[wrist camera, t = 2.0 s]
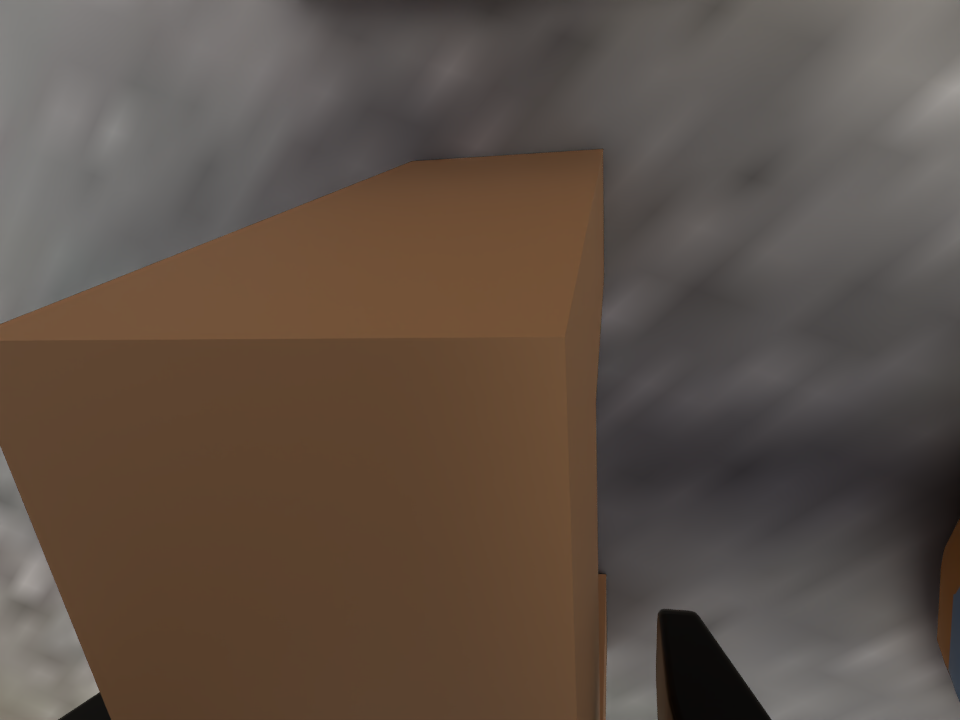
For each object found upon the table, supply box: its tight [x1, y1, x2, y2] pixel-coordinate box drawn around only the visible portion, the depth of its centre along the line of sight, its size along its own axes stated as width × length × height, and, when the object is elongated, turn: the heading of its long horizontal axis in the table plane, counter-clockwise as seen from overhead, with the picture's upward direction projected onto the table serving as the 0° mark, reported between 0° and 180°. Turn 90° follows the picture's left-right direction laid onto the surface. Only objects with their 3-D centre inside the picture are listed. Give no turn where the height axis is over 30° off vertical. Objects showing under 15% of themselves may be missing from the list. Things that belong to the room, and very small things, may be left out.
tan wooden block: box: [0, 149, 607, 720], centre depth 8 cm, size 10×3×8 cm, turn 4°
